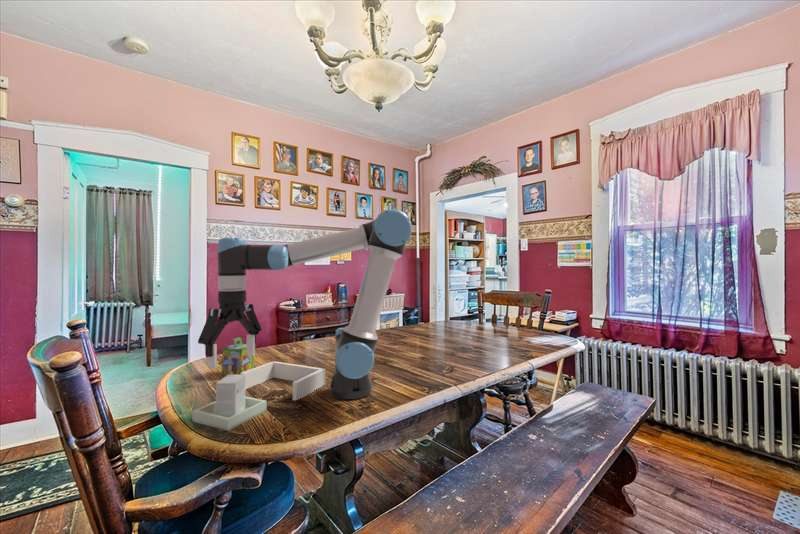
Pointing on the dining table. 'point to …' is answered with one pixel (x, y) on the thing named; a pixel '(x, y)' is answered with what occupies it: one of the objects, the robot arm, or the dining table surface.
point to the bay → (288, 376)
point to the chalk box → (236, 359)
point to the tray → (210, 418)
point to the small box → (230, 395)
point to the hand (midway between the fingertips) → (232, 361)
